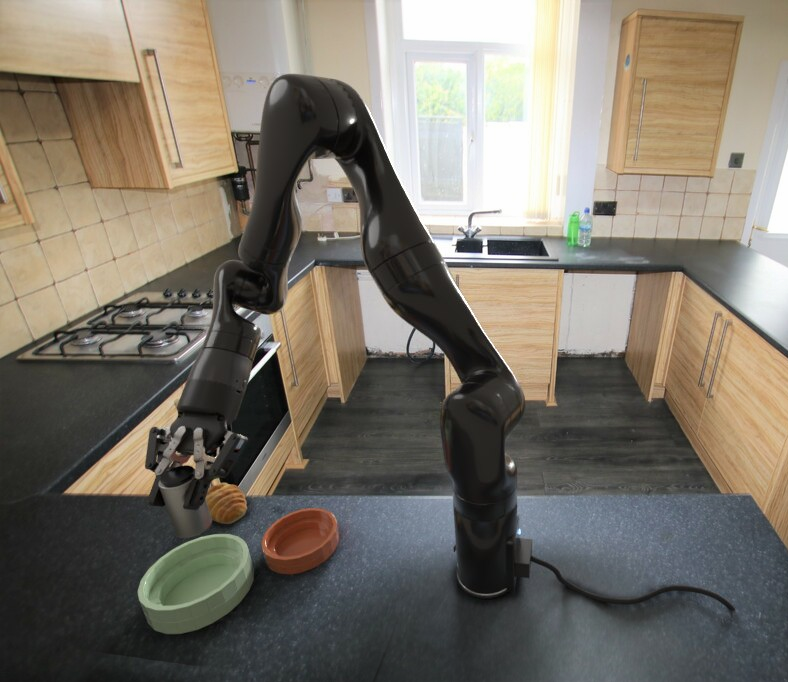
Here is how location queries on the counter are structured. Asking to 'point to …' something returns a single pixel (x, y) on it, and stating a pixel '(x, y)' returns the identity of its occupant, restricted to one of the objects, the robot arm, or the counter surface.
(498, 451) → the robot arm
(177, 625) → the bowl
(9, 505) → the counter surface
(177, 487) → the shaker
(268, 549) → the bowl
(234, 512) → the pastry
